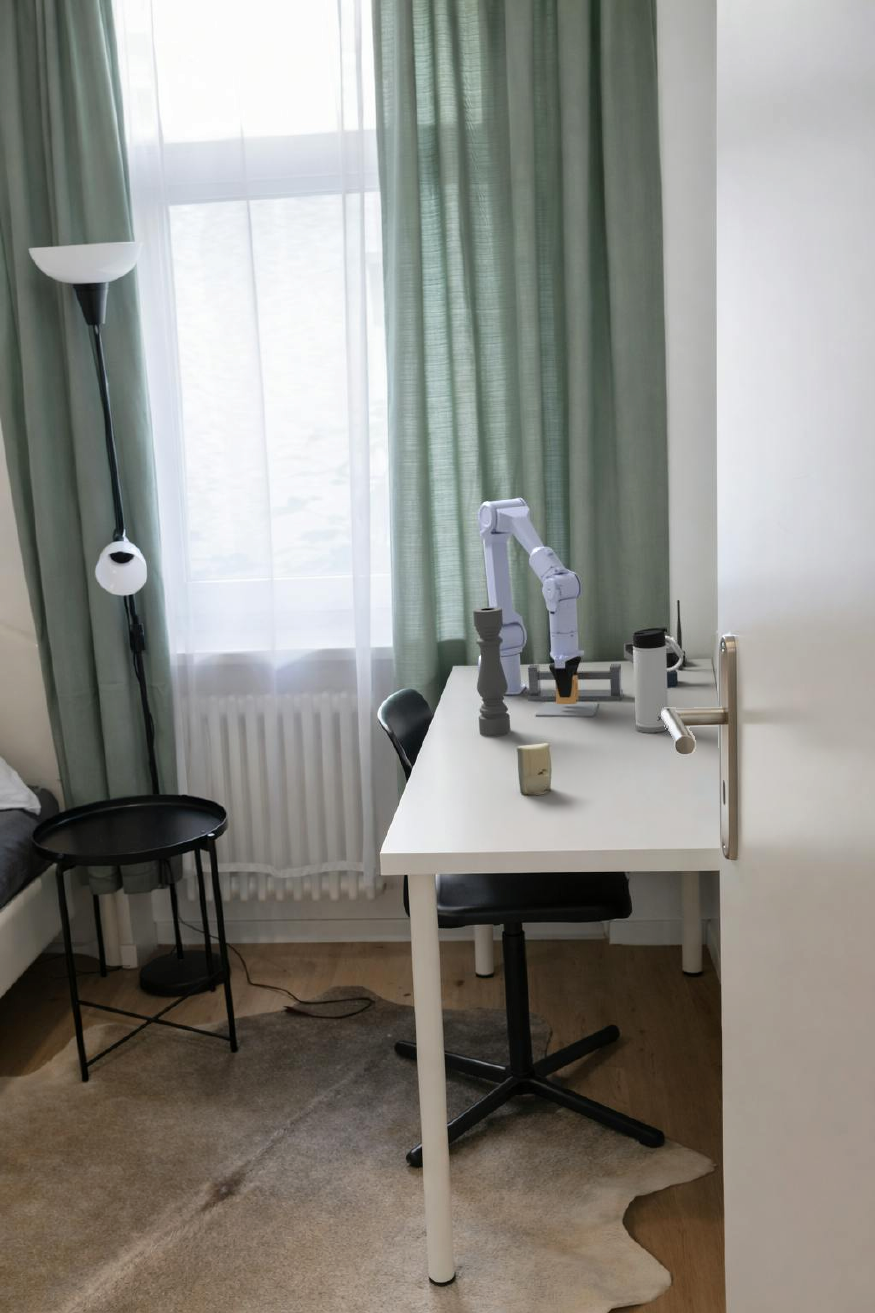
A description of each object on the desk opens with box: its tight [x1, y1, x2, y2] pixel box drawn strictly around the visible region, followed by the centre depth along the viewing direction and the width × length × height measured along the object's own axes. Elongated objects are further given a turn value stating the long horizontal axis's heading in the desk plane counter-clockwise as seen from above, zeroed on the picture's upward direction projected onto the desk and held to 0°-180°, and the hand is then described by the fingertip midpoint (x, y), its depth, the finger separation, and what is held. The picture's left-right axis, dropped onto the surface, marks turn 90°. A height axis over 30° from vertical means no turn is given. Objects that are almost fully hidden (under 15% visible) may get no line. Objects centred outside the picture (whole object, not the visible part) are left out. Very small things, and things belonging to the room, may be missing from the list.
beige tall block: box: [516, 742, 553, 796], centre depth 187 cm, size 6×5×8 cm
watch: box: [665, 635, 684, 688], centre depth 253 cm, size 6×8×11 cm
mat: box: [535, 701, 600, 717], centre depth 238 cm, size 12×10×1 cm
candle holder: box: [472, 606, 511, 737], centre depth 223 cm, size 6×6×25 cm
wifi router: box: [623, 599, 686, 671], centre depth 274 cm, size 20×14×17 cm
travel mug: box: [632, 626, 669, 734], centre depth 217 cm, size 6×7×20 cm
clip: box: [554, 675, 579, 704], centre depth 237 cm, size 4×4×5 cm
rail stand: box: [527, 663, 623, 702], centre depth 247 cm, size 20×6×7 cm, turn 74°
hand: (566, 694), depth 237 cm, fingers closed on clip, 4 cm apart
